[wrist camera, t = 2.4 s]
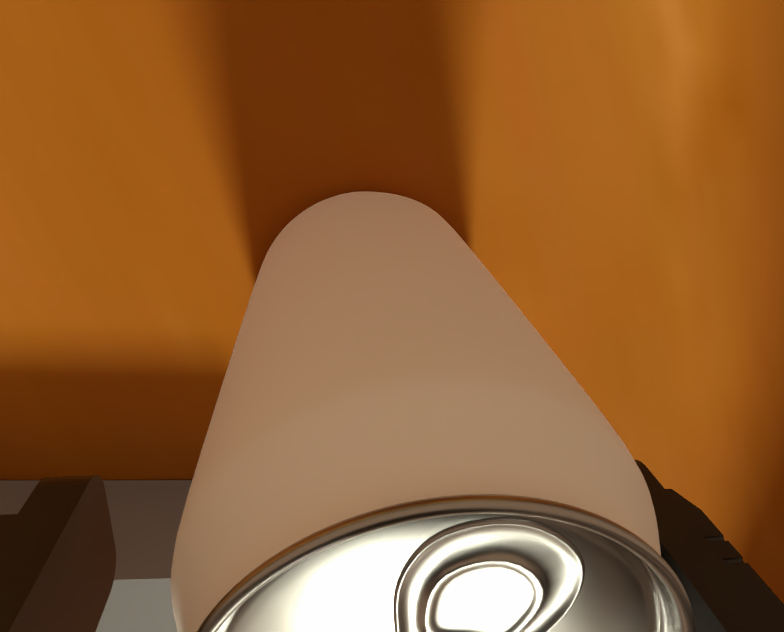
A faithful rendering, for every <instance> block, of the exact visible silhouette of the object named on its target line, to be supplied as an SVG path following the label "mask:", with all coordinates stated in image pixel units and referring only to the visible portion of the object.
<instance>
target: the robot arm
mask: <svg viewBox="0 0 784 632" xmlns="http://www.w3.org/2000/svg"><path fill="white" fill-rule="evenodd" d="M635 462H636V464H637V466H638V467H639V469H640V471H641V473H642V475H643V477H644V479H645V481H646V484H647V486H648V489H649V492H650V495H651V499H652V503H653V506H654V510H655V515H656V520H657V527H658V534H659V542H660V551H661V557H662V558H663V559H664V560H665V561H666V562H667V563H668V565H669V566H670V567H671V568H672V570H673V571H674V572H675V574H676V575H677V577H678V579H679V580H680V582H681V583H682V585H683V587H684V589H685V591H686V593H687V596H688V598H689V601H690V603H691V606H692V610H693V614H694V618H695V624H696V632H784V604H783V603H782V602H781V601H780V600H779V598H778V597H777V596H776V595H775V594H774V593H773V592H772V590H771V589H770V588H769V587H768V586H767V585H766V584H765V582H764V581H763V580H762V579H761V578H760V577H759V576H758V574H757V573H756V572H755V571H754V570H753V569H752V568H751V566H750V565H749V564H748V563H744V562H743V560H742V558H743V557H742V556H741V555H740V554H739V553H738V552H737V550H736V549H735V548H734V547H733V546H732V545H731V544H730V542H729V541H725V540H724V538H723V534H722V533H721V532H720V531H719V530H718V529H717V528H716V526H715V525H714V524H713V523H712V522H711V521H710V520H709V518H708V517H707V516H706V515H705V514H704V513H703V512H702V510H700V509H699V508H698V507H696V506H695V505H693V504H692V503H690V502H689V501H688V500H686V499H685V498H683V497H682V496H681V495H679V494H678V493H676V492H675V491H674V490H672V489H664V488H663V486H662V485H661V484H660V483H659V482H658V480H657V479H656V478H655V477H654V476H653V474H652V473H651V472H650V471H649V470H648V468H647V467H646V466H645V465H644V464H643V463H642V462H640V461H638V460H635ZM115 569H116V547H115V541H114V536H113V530H112V525H111V519H110V514H109V508H108V502H107V497H106V491H105V486H104V483H103V480H102V479H101V477H100V476H72V477H46V478H44V479H42V480H41V481H40V482H39V483H38V484H37V485H36V487H35V488H34V490H33V491H32V493H31V494H30V496H29V497H28V499H27V501H26V502H25V504H24V505H23V507H22V508H21V510H20V511H19V513H18V514H7V515H0V632H96V629H97V626H98V624H99V621H100V619H101V616H102V613H103V611H104V608H105V605H106V603H107V600H108V598H109V595H110V592H111V589H112V586H113V581H114V576H115Z"/></svg>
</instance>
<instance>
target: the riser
mask: <svg viewBox="0 0 784 632" xmlns="http://www.w3.org/2000/svg"><path fill="white" fill-rule="evenodd" d="M40 481H41V480H0V515H7V514H18V513H19V511H20V510H21V508H22V507H23V505H24V504H25V502H26V501H27V499H28V497H29V496H30V494H31V493H32V491H33V490H34V488H35V487H36V485H37V484H38V483H39V482H40ZM103 483H104V486H105V491H106V497H107V502H108V508H109V514H110V519H111V525H112V530H113V536H114V541H115V547H116V569H115V576H114V581H113V586H112V589H111V592H110V595H109V598H108V600H107V603H106V605H105V608H104V611H103V613H102V616H101V619H100V621H99V624H98V626H97V629H96V632H178V631H177V627H176V622H175V618H174V612H173V605H172V596H171V568H172V561H173V555H174V549H175V543H176V538H177V533H178V529H179V525H180V522H181V518H182V515H183V511H184V507H185V504H186V500H187V496H188V493H189V489H190V486H191V483H192V480H103Z"/></svg>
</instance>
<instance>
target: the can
mask: <svg viewBox="0 0 784 632" xmlns="http://www.w3.org/2000/svg"><path fill="white" fill-rule="evenodd" d="M171 596H172V605H173V612H174V618H175V622H176V627H177V631H178V632H696V624H695V618H694V614H693V610H692V606H691V603H690V601H689V598H688V596H687V593H686V591H685V589H684V587H683V585H682V583H681V582H680V580H679V579H678V577H677V575H676V574H675V572H674V571H673V570H672V568H671V567H670V566H669V565H668V563H667V562H666V561H665V560H664V559H663V558H662V557H661V551H660V542H659V534H658V527H657V520H656V515H655V510H654V506H653V503H652V499H651V495H650V492H649V489H648V486H647V484H646V481H645V479H644V477H643V475H642V473H641V471H640V469H639V467H638V466H637V464H636V462H635V460H634V459H633V457H632V455H631V454H630V452H629V450H628V449H627V447H626V446H625V444H624V443H623V441H622V440H621V438H620V437H619V436H618V434H617V433H616V432H615V430H614V429H613V427H612V426H611V425H610V423H609V422H608V421H607V419H606V418H605V417H604V415H603V414H602V413H601V411H600V410H599V409H598V408H597V406H596V405H595V404H594V402H593V401H592V400H591V399H590V397H589V396H588V395H587V393H586V392H585V391H584V390H583V388H582V387H581V386H580V385H579V383H578V382H577V381H576V379H575V378H574V377H573V376H572V374H571V373H570V372H569V371H568V369H567V368H566V367H565V366H564V364H563V363H562V362H561V361H560V359H559V358H558V357H557V356H556V354H555V353H554V352H553V351H552V349H551V348H550V347H549V346H548V344H547V343H546V342H545V340H544V339H543V338H542V337H541V335H540V334H539V333H538V332H537V330H536V329H535V328H534V327H533V325H532V324H531V323H530V322H529V320H528V319H527V318H526V317H525V316H524V314H523V313H522V312H521V311H520V309H519V308H518V307H517V306H516V304H515V303H514V302H513V301H512V299H511V298H510V297H509V296H508V294H507V293H506V292H505V291H504V289H503V288H502V287H501V286H500V285H499V283H498V282H497V281H496V280H495V278H494V277H493V276H492V275H491V273H490V272H489V271H488V270H487V269H486V267H485V266H484V265H483V264H482V262H481V261H480V260H479V259H478V257H477V256H476V255H475V254H474V253H473V251H472V250H471V249H470V248H469V247H468V245H467V244H466V243H465V242H464V241H463V239H462V238H461V237H460V236H459V235H458V234H457V232H456V231H455V230H454V229H453V228H452V227H451V226H450V225H449V224H448V223H447V222H446V221H445V220H444V219H443V218H442V217H441V216H440V215H439V214H438V213H437V212H435V211H434V210H432V209H431V208H430V207H428V206H426V205H424V204H423V203H420V202H418V201H416V200H413V199H410V198H408V197H404V196H400V195H396V194H390V193H383V192H368V191H363V192H350V193H345V194H340V195H337V196H333V197H330V198H328V199H325V200H323V201H320V202H318V203H316V204H314V205H312V206H311V207H309V208H307V209H306V210H304V211H303V212H301V213H300V214H299V215H297V216H296V217H295V218H294V219H293V220H291V221H290V222H289V223H288V224H287V225H286V226H285V227H284V229H283V230H282V231H281V232H280V233H279V235H278V236H277V237H276V239H275V240H274V242H273V243H272V245H271V247H270V248H269V250H268V252H267V254H266V256H265V258H264V261H263V263H262V266H261V268H260V271H259V274H258V277H257V280H256V282H255V285H254V288H253V291H252V294H251V297H250V300H249V303H248V306H247V310H246V313H245V316H244V319H243V322H242V325H241V328H240V331H239V334H238V337H237V340H236V343H235V346H234V350H233V353H232V356H231V359H230V362H229V365H228V368H227V371H226V374H225V378H224V381H223V384H222V387H221V390H220V393H219V396H218V399H217V403H216V406H215V409H214V412H213V415H212V418H211V422H210V425H209V428H208V431H207V434H206V437H205V441H204V444H203V447H202V450H201V453H200V457H199V460H198V463H197V466H196V470H195V473H194V476H193V480H192V483H191V486H190V489H189V493H188V496H187V500H186V504H185V507H184V511H183V515H182V518H181V522H180V525H179V529H178V533H177V538H176V543H175V549H174V555H173V561H172V568H171Z"/></svg>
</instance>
